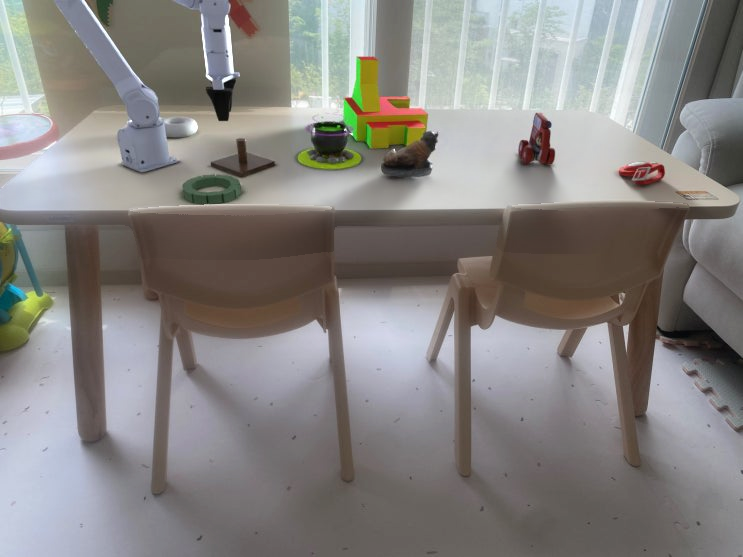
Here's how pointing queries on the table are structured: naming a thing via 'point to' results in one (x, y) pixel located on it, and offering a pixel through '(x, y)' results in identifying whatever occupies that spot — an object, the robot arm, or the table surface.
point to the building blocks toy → (380, 111)
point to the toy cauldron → (329, 146)
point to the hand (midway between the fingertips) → (224, 116)
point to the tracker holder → (643, 171)
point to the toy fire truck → (538, 142)
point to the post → (242, 161)
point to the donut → (179, 127)
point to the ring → (211, 197)
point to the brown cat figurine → (411, 158)
